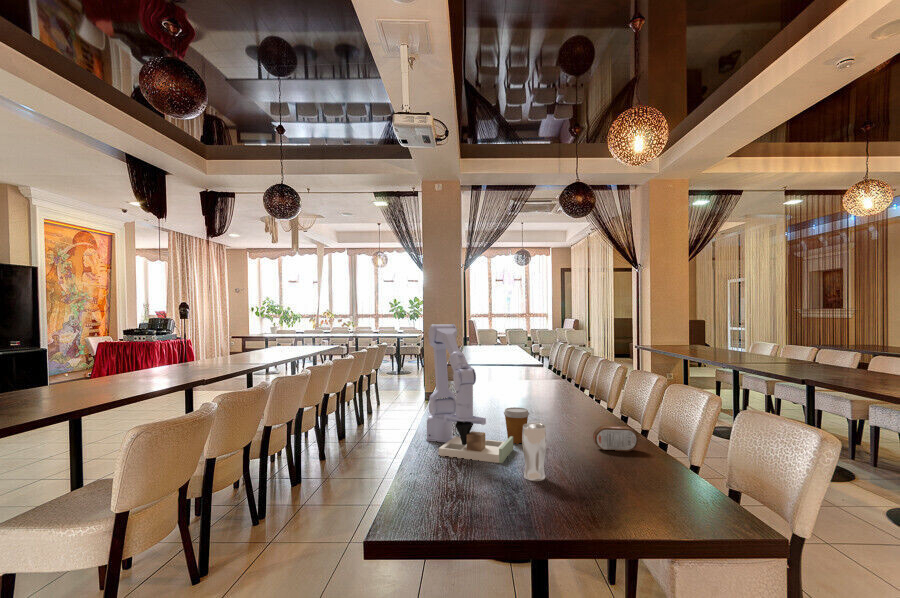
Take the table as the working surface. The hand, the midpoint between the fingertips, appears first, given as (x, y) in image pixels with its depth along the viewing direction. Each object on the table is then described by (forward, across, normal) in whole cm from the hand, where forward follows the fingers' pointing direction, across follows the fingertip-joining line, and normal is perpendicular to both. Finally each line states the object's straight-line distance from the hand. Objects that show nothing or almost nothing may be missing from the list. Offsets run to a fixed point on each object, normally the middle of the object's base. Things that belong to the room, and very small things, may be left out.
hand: (464, 444), depth 153 cm
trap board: (+4, +3, +4) cm, 6 cm away
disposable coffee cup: (+4, +13, +22) cm, 26 cm away
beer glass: (+4, +26, -13) cm, 29 cm away
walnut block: (+1, +4, 0) cm, 4 cm away
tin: (+4, +48, +24) cm, 54 cm away
